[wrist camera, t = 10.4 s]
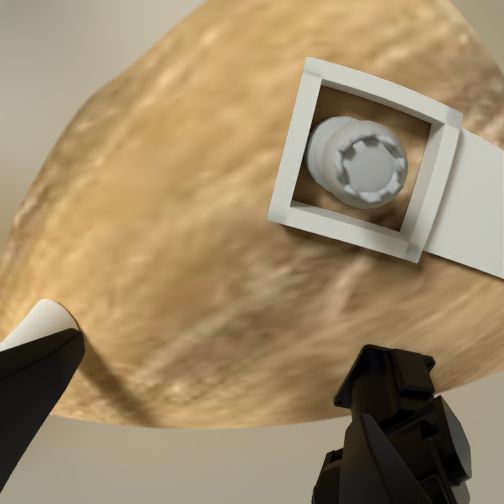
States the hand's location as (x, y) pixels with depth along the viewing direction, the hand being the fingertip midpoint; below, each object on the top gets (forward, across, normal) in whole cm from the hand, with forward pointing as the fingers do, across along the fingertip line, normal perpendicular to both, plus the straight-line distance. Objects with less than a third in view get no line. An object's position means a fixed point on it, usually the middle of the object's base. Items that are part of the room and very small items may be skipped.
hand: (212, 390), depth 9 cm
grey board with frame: (+12, -10, -7) cm, 17 cm away
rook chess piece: (+12, -3, -7) cm, 14 cm away
